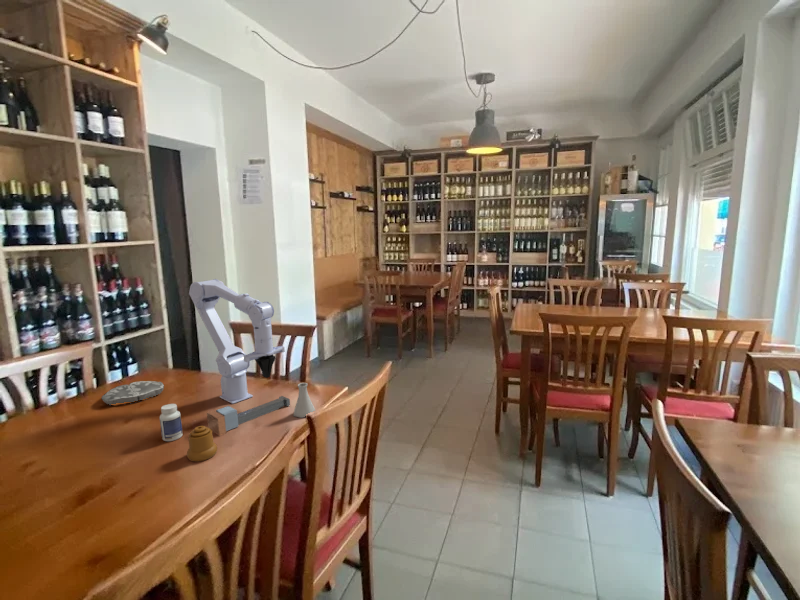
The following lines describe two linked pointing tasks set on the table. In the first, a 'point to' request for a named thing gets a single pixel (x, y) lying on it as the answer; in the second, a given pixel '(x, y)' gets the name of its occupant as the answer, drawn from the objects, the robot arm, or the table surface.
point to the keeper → (229, 417)
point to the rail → (244, 414)
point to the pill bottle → (170, 423)
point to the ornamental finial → (201, 444)
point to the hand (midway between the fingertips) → (266, 376)
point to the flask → (303, 402)
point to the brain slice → (133, 392)
